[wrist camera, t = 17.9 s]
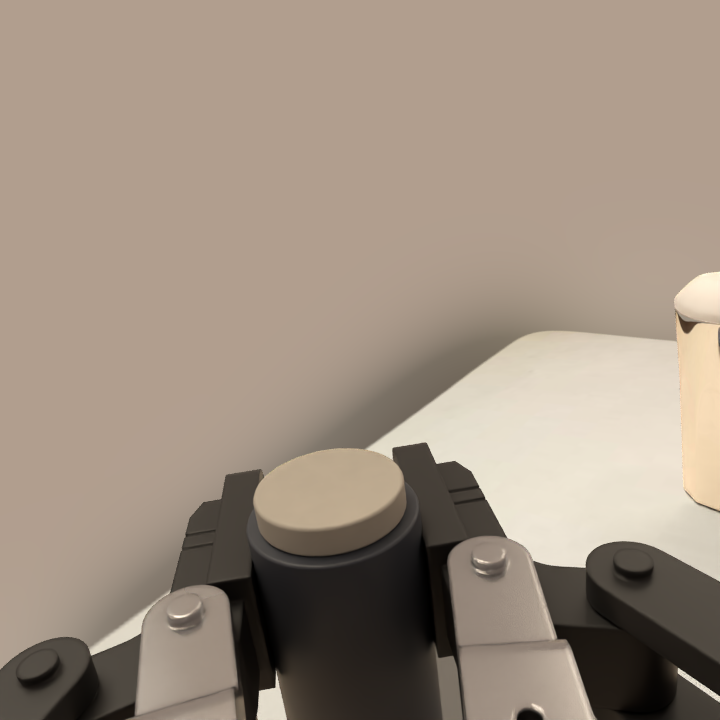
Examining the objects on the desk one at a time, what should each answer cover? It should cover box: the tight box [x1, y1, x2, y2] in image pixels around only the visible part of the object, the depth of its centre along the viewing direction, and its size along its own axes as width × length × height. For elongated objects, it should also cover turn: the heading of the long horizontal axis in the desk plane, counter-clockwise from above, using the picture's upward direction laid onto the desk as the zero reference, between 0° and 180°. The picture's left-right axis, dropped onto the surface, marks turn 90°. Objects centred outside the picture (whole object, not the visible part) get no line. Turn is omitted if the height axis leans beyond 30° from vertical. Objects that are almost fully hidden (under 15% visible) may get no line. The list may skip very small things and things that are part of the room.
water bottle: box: [246, 448, 443, 720], centre depth 12 cm, size 3×3×10 cm
